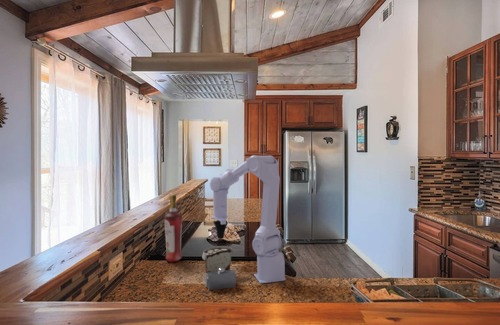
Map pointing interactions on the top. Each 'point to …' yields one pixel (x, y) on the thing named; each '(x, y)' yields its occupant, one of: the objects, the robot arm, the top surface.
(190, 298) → the top surface
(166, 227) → the liquor
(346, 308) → the top surface
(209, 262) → the food container
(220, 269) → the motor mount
